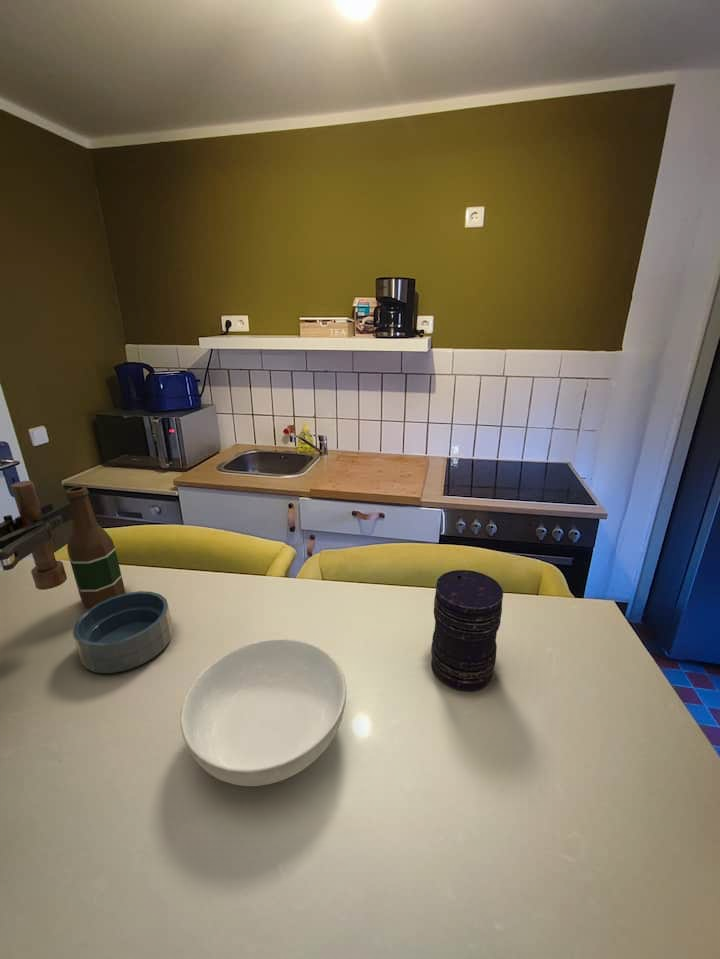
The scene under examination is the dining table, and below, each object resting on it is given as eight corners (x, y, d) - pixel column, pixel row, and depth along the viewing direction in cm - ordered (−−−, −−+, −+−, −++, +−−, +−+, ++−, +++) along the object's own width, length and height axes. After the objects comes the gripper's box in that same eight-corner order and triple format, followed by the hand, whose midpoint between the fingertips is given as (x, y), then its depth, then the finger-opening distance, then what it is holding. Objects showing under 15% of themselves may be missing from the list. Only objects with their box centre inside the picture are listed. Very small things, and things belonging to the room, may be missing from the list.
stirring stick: (29, 586, 72) (-3, 486, 66) (55, 573, 76) (27, 477, 70) (47, 592, 70) (15, 490, 64) (72, 578, 74) (45, 480, 68)
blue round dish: (62, 661, 70) (52, 631, 68) (133, 611, 82) (127, 584, 80) (123, 686, 65) (115, 655, 63) (190, 629, 77) (185, 601, 75)
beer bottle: (124, 606, 84) (96, 492, 75) (78, 616, 81) (44, 499, 73) (128, 585, 91) (103, 479, 82) (86, 593, 88) (56, 484, 80)
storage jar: (506, 684, 65) (518, 601, 60) (448, 699, 62) (455, 614, 57) (472, 640, 74) (480, 565, 69) (420, 652, 71) (424, 575, 66)
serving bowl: (368, 692, 64) (367, 655, 61) (304, 843, 45) (300, 799, 43) (248, 658, 70) (244, 623, 68) (150, 778, 52) (139, 736, 50)
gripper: (-131, 608, 55) (26, 527, 77) (-23, 618, 53) (107, 531, 75) (-156, 557, 52) (14, 488, 74) (-43, 565, 50) (97, 491, 72)
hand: (60, 510), depth 74 cm, fingers closed on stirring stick, 3 cm apart
